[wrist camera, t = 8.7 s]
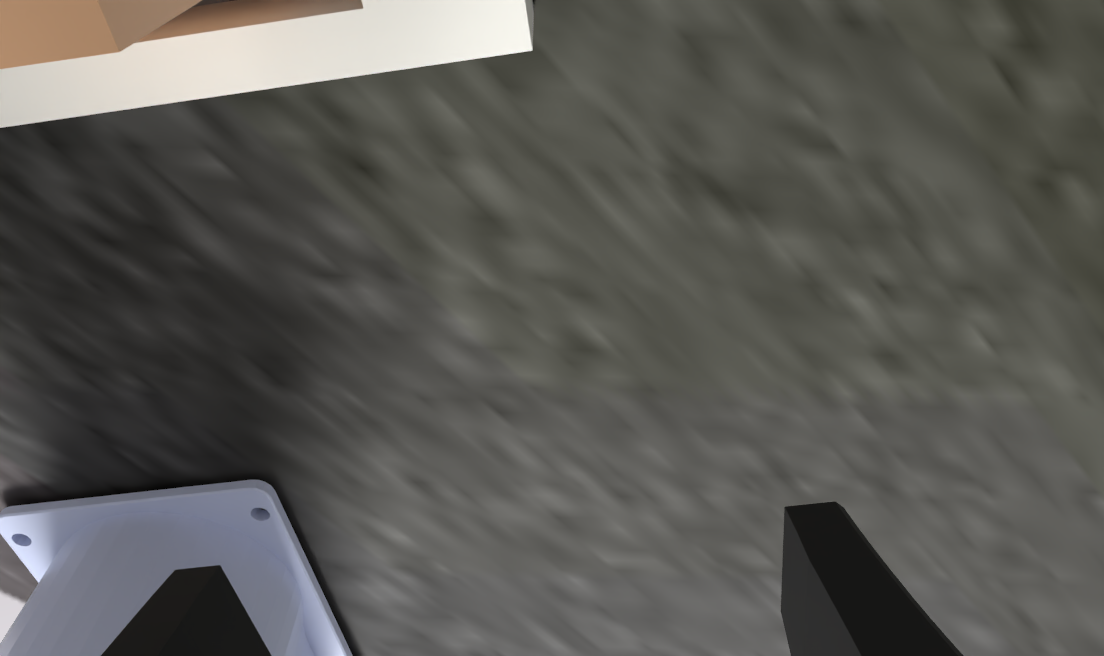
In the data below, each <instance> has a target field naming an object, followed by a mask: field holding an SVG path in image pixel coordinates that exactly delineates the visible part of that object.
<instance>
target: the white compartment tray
mask: <svg viewBox="0 0 1104 656" xmlns="http://www.w3.org/2000/svg"><path fill="white" fill-rule="evenodd" d="M533 22H534V4H533V0H202V1H200V2H199V3H197V4H196V5H194V6H192V7H191V8H189V9H188V10H186V11H184V12H183V13H181V14H180V15H178V16H176V17H175V18H173V19H172V20H170V21H168V22H167V23H165V24H164V25H162V26H160V27H159V28H157V29H156V30H154V31H152V32H151V33H149V34H148V35H146V36H144V37H143V38H141V39H140V40H138V41H137V42H135V43H133V44H132V45H130V46H129V47H127V48H125V49H124V50H122V51H121V52H117V53H110V54H103V55H96V56H89V57H82V58H75V59H68V60H61V61H54V62H47V63H40V64H33V65H26V66H19V67H12V68H5V69H0V128H3V127H9V126H16V125H23V124H30V123H37V122H44V121H51V120H58V119H65V118H71V117H78V116H85V115H92V114H99V113H106V112H113V111H120V110H126V109H133V108H140V107H147V106H154V105H161V104H168V103H175V102H182V101H188V100H195V99H202V98H209V97H216V96H223V95H230V94H237V93H244V92H250V91H257V90H264V89H271V88H278V87H285V86H292V85H299V84H305V83H312V82H319V81H326V80H333V79H340V78H347V77H354V76H361V75H367V74H374V73H381V72H388V71H395V70H402V69H409V68H416V67H423V66H429V65H436V64H443V63H450V62H457V61H464V60H471V59H478V58H484V57H491V56H498V55H505V54H512V53H519V52H526V51H532V49H533Z"/></svg>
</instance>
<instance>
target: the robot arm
mask: <svg viewBox="0 0 1104 656" xmlns="http://www.w3.org/2000/svg"><path fill="white" fill-rule="evenodd" d="M259 508H263V509H265V510H262V509H259ZM0 534H1V535H2V536H3V537H4V539H5V540H6V541H7V543H8V544H9V545H10V546H11V548H12V549H13V550H14V552H15V553H16V554H17V556H18V557H19V558H20V559H21V561H22V562H23V563H24V565H25V566H26V567H27V568H28V570H29V571H30V572H31V574H32V575H33V576H34V577H35V579H36V580H37V581H38V585H37V586H36V588H35V590H34V591H33V593H32V594H31V596H30V598H29V599H28V601H27V602H26V604H25V605H24V607H23V609H22V610H21V612H20V613H19V615H18V617H17V618H16V620H15V621H14V623H13V624H12V626H11V628H10V629H9V631H8V633H7V634H6V635H5V637H4V639H3V640H2V642H1V643H0V656H353V655H352V653H351V651H350V649H349V647H348V645H347V643H346V640H345V638H344V636H343V634H342V632H341V630H340V628H339V626H338V623H337V621H336V619H335V617H334V615H333V613H332V611H331V609H330V606H329V604H328V602H327V600H326V598H325V596H324V594H323V591H322V589H321V587H320V585H319V583H318V581H317V579H316V577H315V574H314V572H313V570H312V568H311V566H310V564H309V562H308V560H307V557H306V555H305V553H304V551H303V549H302V547H301V545H300V543H299V540H298V538H297V536H296V534H295V532H294V530H293V528H292V526H291V523H290V521H289V519H288V517H287V515H286V513H285V511H284V509H283V506H282V504H281V502H280V500H279V498H278V496H277V494H276V492H275V490H274V489H273V487H272V486H271V485H269V484H268V483H266V482H264V481H261V480H244V481H235V482H226V483H216V484H207V485H198V486H189V487H180V488H171V489H162V490H153V491H144V492H135V493H126V494H117V495H108V496H99V497H90V498H81V499H72V500H63V501H54V502H44V503H35V504H26V505H17V506H9V507H6V508H4V509H3V510H2V511H1V512H0ZM781 613H782V618H783V622H784V626H785V631H786V635H787V639H788V644H789V648H790V653H791V656H963V655H962V654H961V653H960V652H959V650H958V649H957V648H956V647H955V646H954V645H953V644H952V642H951V641H950V640H949V639H948V638H947V637H946V636H945V635H944V633H943V632H942V631H941V630H940V629H939V628H938V627H937V625H936V624H935V623H934V622H933V621H932V620H931V619H930V617H929V616H928V615H927V614H926V613H925V611H924V610H923V609H922V608H921V607H920V605H919V604H918V603H917V602H916V601H915V600H914V598H913V597H912V596H911V595H910V593H909V592H908V591H907V590H906V588H905V587H904V586H903V585H902V584H901V582H900V581H899V580H898V579H897V577H896V576H895V575H894V574H893V572H892V571H891V570H890V569H889V567H888V566H887V565H886V564H885V562H884V561H883V560H882V559H881V557H880V556H879V555H878V553H877V552H876V551H875V550H874V548H873V547H872V546H871V544H870V543H869V542H868V540H867V539H866V538H865V536H864V535H863V534H862V532H861V531H860V530H859V528H858V527H857V526H856V524H855V523H854V521H853V520H852V519H851V517H850V516H849V514H848V513H847V512H846V510H845V509H844V508H843V507H842V506H841V505H839V504H838V503H836V502H827V503H817V504H807V505H798V506H788V507H785V513H784V540H783V567H782V595H781Z"/></svg>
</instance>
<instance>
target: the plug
mask: <svg viewBox="0 0 1104 656" xmlns="http://www.w3.org/2000/svg"><path fill="white" fill-rule="evenodd" d="M200 1H202V0H0V69H5V68H12V67H19V66H26V65H33V64H40V63H47V62H54V61H61V60H68V59H75V58H82V57H89V56H96V55H103V54H110V53H117V52H121V51H122V50H124V49H125V48H127V47H129V46H130V45H132V44H133V43H135V42H137V41H138V40H140V39H141V38H143V37H144V36H146V35H148V34H149V33H151V32H152V31H154V30H156V29H157V28H159V27H160V26H162V25H164V24H165V23H167V22H168V21H170V20H172V19H173V18H175V17H176V16H178V15H180V14H181V13H183V12H184V11H186V10H188V9H189V8H191V7H192V6H194V5H196V4H197V3H199V2H200Z"/></svg>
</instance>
